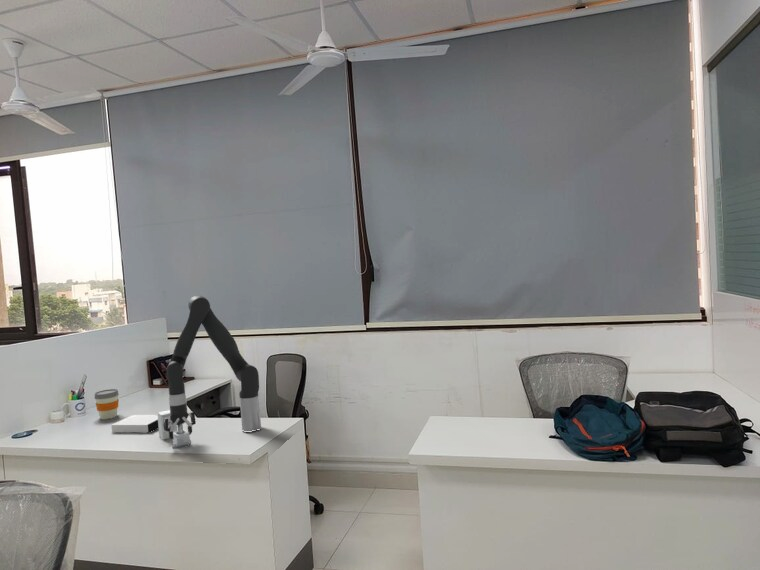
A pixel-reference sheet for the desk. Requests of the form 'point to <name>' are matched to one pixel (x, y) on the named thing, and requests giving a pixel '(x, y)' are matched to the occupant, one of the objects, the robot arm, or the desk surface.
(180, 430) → the grey peg stand
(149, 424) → the disc drive
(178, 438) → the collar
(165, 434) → the supplement box
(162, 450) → the desk surface
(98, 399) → the reusable coffee cup
